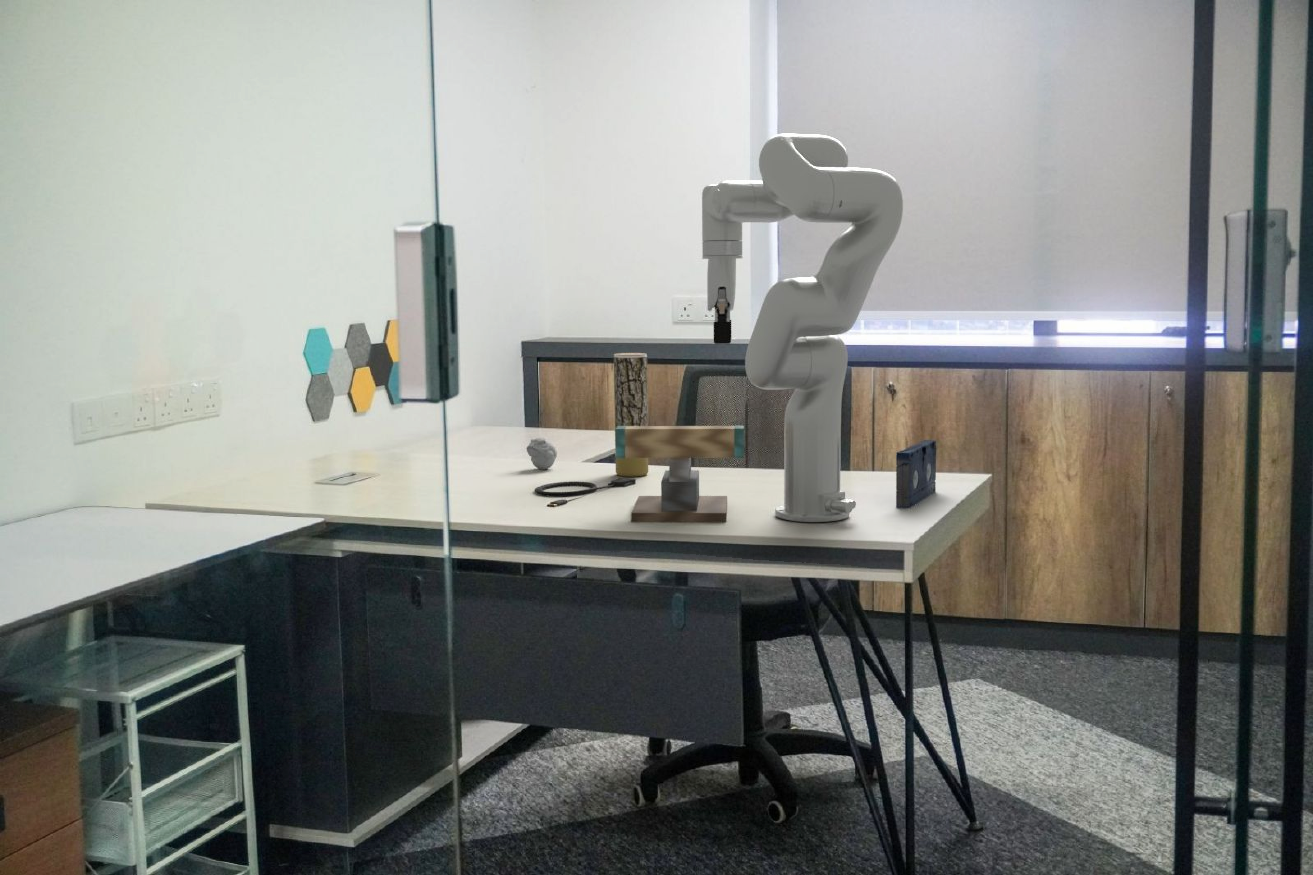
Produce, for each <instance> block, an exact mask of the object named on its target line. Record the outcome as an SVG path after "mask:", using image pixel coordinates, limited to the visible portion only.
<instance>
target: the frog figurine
mask: <svg viewBox="0 0 1313 875" xmlns="http://www.w3.org/2000/svg"><path fill="white" fill-rule="evenodd" d="M556 447H557V446H555V445H554V444H553V443H551V442H549V441H548V440H546V438H545V437H541V436H539V437H536V438H531V439H530V442H529V444H528V445H527V446H526V452H527V454H528V455H529V457H531V458H530V460H531V461H530V462H531V463H532V464H533V466H534V467H535V468H537V469H539V470H542V471H543V470H544V471H545V470H548V469H550V468H552V466H553V465H554V463H555V461H556V459H557V457H558V451H557V449H556Z"/></svg>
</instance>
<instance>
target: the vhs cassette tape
mask: <svg viewBox="0 0 1313 875" xmlns="http://www.w3.org/2000/svg"><path fill="white" fill-rule="evenodd" d="M895 463H896V467H895V468H896V469H895V470H896V473H895V474H896V475H895V476H896V478H895V481H896V482H895V485H896V486H895V488H896V490H895V492H896V493H895V495H896V496H895V500H896V501H895V508H897V509H908V508H910V509H911V508H913V507H914V506H916V505H917V504H919V503H920V502H922V501H923V499H924V500H925V499H927V498H929V497H930V496H931V495H933V494H934V493H936V488H937V487H936V484H937V483H936V479H937V478H936V477H937V475H936V474H937V465H936V464H937V440H929V439H923V441H922V440H921V441H919V442H917V443H915V444H912V445H910V446H909V447H906V448H905V449H903V450H900V451H898V452H896V458H895ZM915 504H916V505H915Z"/></svg>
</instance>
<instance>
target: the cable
mask: <svg viewBox="0 0 1313 875" xmlns="http://www.w3.org/2000/svg"><path fill="white" fill-rule="evenodd" d="M632 485H633V486H634V485H636V478H629V477H617V478H615V479H613V480H611V481H610V482H608V484H607V485H604V486H603V485H602V486H597V484H596V483H593V482H588V481H560V482H558V481H557V482H552V483H546V484H542V485H540V486H536V487H535V488H534V492H535V493H536V494H537V495H539V496H543V497H548V498H549V497H551V498H558V497H559V498H564V497H565V498H566V497H575V498H572V499H568V500H567V499H558V500H554V501H550V502H549V503H547V505H546V507H551V508H557V507H560V506H564V505H567V504H568V503H569V502H571V501H575V500H578V499H581V498H584V497H585V496H586V495H589V494H593V493H595V492H596V491H598V490H604V489H608V488H621V487H622V488H625V487H628V486H629V487H630V486H632ZM560 487H561V488H562V487H563V488H564V487H582V488H583V487H585V488H586V489H581V490H580V489H579V490H573V491H572V490H571V491H545V490H549V489H554V488H555V489H556V488H560ZM579 496H580V497H579Z"/></svg>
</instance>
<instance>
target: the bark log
mask: <svg viewBox="0 0 1313 875" xmlns="http://www.w3.org/2000/svg"><path fill="white" fill-rule="evenodd" d="M613 388H614V390H613V391H614V395H613V396H614V398H613V400H614V446H615V447H614V448H615V449H614V451H615V457H614V458H615V474H616V475H617V476H620V477H623V478H637V477H643V476H646V475H648V473H649V458H616V428H617V426H649V419H648V418H649V414H648V413H649V409H648V408H649V407H648V402H649V401H648V354H647V353H646V352H645V353H644V352H643V353H642V352H620V353H614V354H613Z"/></svg>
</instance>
